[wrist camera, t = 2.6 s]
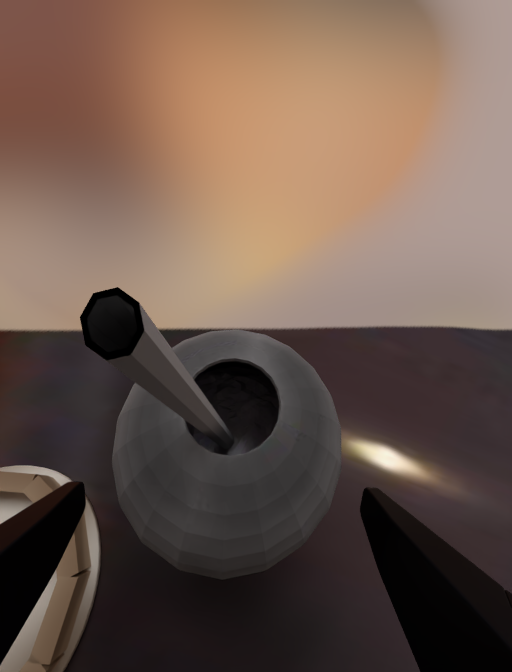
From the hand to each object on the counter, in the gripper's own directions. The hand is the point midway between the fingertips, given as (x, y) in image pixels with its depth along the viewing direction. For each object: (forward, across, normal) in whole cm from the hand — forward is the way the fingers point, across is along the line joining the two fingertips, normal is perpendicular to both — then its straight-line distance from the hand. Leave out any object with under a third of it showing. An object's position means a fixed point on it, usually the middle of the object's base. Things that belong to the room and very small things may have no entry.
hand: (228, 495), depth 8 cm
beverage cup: (+9, 0, +7) cm, 12 cm away
